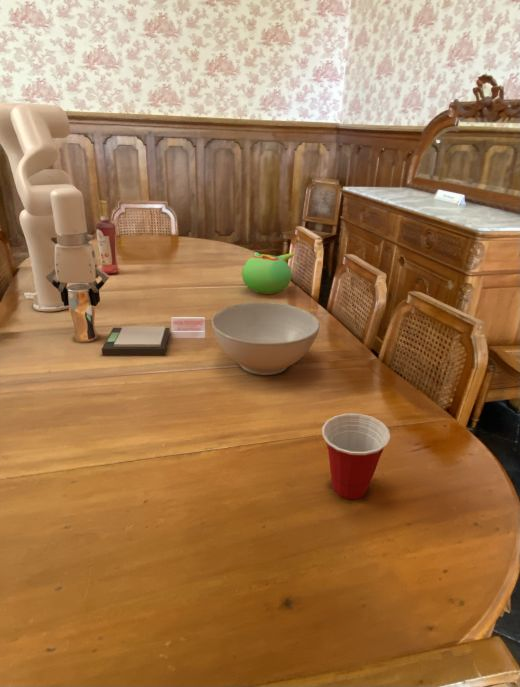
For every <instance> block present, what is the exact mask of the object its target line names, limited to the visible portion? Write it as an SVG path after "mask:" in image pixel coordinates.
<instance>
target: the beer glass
mask: <svg viewBox="0 0 520 687" xmlns="http://www.w3.org/2000/svg"><path fill="white" fill-rule="evenodd" d="M66 289H67V302H68V311H69V315H70V317H71V320H72V324H73V326H74V340H75V341H76V342H77V343H91V342H93V341H96V340H97V339H98V338H99V337H98V333H97V330H96V325H95V324H96V323H95V321H96V320H95V318H96V306H93V301H92V292H93V290H92V288H91V287H90V285H89V284H88V283H72V284H70V285H67V288H66Z"/></svg>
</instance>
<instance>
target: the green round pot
mask: <svg viewBox="0 0 520 687" xmlns="http://www.w3.org/2000/svg"><path fill="white" fill-rule="evenodd" d="M294 256H295V253H294V252H293V253H292V252H291V253H287V254H286V253H285V254H280V255H273V254H263V253H262V254H260V253H259V252H255V253H254V255H253V257H250V258H249V259H248V260H247V261H246V262H245V263H244V264H243V267H242V270H241V278H242V281H243V283H244V285H245V286H246V287H247V288H248V289H250V290H251V291H253V292H255V293H258V294H263V295H274V294H278V293H281V292H283V291H284V290H286V289H287V288H288V286H289V285H290V284H291V283H290V282H291V280H292V270H291V267H290V265H289V263H288V262H287V261H288V260H289V259H291V258H293V257H294Z"/></svg>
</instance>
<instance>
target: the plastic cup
mask: <svg viewBox="0 0 520 687" xmlns="http://www.w3.org/2000/svg"><path fill="white" fill-rule="evenodd" d="M321 433H322V434H321V436H322V438H323V440H324V441H325V443H326V447H327V450H328V461H329V471H330V474H331V475H330V476H331V486H332V489H333V490H334V493H335V494H337V495H338V496H339V497H342V498H344V499H346V500H358V499H361V498H362V497H364V496H365V494H366V493H367V491H368V488H369V486H370V483H371V481H372V479H373V477H374V474H375V471H376V470H377V466H378V464H379V461H380V458H381V456H382V454H383V452H384V449H385V448H386V447H387V445H388V443H389V442H390V439H391V433H390V430H389V428H388V427H387V426H386V425H385V423H383V421H381V420H380V419H377V418H375V417H374V416H371V415H367V414H363V413H351V412H350V413H348V412H347V413H342V414H338V415H335V416H333V417H331V418H329V419H327V420H326V421H325V423H324V424H323V425H322V427H321Z"/></svg>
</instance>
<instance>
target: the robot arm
mask: <svg viewBox="0 0 520 687" xmlns="http://www.w3.org/2000/svg"><path fill="white" fill-rule="evenodd" d="M70 126H71V125H70V120H69V117H68V115H67V113H66V111H65V110H64V109H63V108H62V107H61V106H60V105H56V104H45V103H44V104H41V103H22V102H0V146H1V147H2V149H3V150H4V152H5V154H6V156H7V159H8V161H9V165H10V170H11V173H12V177H13V181H14V185H15V188H16V191H17V194H18V196H19V198H20V200H21V203H22V206H23V208H24V209H23V210H21V212H20V213H19V223H20V228H21V230H22V233H23V235H24V239H25V243H26V245H27V251H28V254H29V255H28V256H29V260H30V266H31V272H32V277H33V278H32V279H33V283H34V284H33V285H34V289H35V291H34V292H24V293H23V298H24V299H25V301H33V303H32V306H33V309H34V310H36V311H39V312H44V313H45V312H47V313H49V312H50V313H51V312H58V311H65V310H69V308H68V302H67V289H66V288H67V287H68V284H81V283H83V284H89V285H90V287H91V288H92V290H93V292H92V301H93V306H95V307H97V306H98V304H99V303H101V296H100V290H101V289H102V287H103V286H104V285H105V284H106V283H107V281H108V280H109V279H110V275H107V274H106V273H104V272H103V271H102V270H101V268H100V267H99V265H98V259H97V255H96V252H95V248H94V245H93V243H92V242H91V241H94V240H95V237H94V235H93V234H90V233H89V231H88V226H87V218H86V211H85V203H84V202H85V201H84V196H83V193H82V191H81V190H79V189H78V188H77V187H76V186H75V185H74V184H73V181H72V178H71V177H70V175H69V173H68V172H67V171H65V170H64V169H59V168H50V167H51V166H53V165H54V164H55V163H56V162H57V161H58V158H59V151H58V148H57V145H56V143H55V141H54V140H55V139H66V138H67V137H69V134H70V128H71V127H70ZM53 238H56V242H54V241H53V240H52V239H53ZM99 277H100V278H101V279H100V281H99V282H98V281H97V279H98V278H99Z"/></svg>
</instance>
